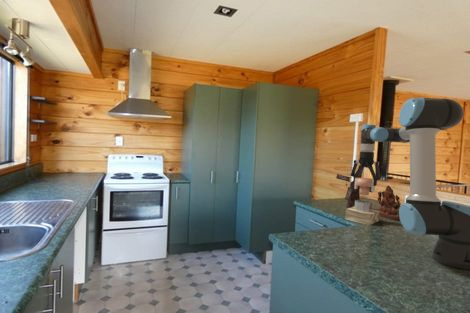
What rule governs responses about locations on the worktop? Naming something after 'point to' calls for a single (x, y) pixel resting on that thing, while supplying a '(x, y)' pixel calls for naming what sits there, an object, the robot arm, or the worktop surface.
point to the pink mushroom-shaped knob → (364, 185)
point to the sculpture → (389, 204)
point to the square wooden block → (362, 216)
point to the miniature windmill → (352, 190)
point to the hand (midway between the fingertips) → (364, 189)
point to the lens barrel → (363, 205)
